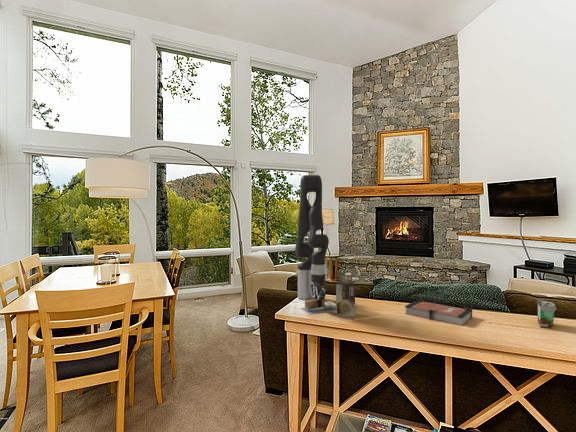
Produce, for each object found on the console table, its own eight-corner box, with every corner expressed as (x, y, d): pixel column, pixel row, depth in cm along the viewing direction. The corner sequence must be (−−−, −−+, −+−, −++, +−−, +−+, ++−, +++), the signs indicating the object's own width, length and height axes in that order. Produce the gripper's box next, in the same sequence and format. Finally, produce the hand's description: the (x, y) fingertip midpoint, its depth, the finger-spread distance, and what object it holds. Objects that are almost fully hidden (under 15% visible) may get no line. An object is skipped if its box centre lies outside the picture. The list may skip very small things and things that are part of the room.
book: (404, 315, 166) (404, 305, 165) (418, 308, 178) (418, 298, 178) (461, 327, 148) (461, 316, 148) (472, 318, 161) (472, 308, 161)
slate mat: (300, 309, 174) (300, 308, 174) (330, 305, 181) (330, 304, 181) (310, 315, 163) (310, 314, 163) (341, 311, 170) (341, 310, 170)
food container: (558, 331, 142) (558, 307, 142) (540, 328, 145) (540, 305, 145) (554, 323, 152) (554, 301, 152) (537, 320, 155) (537, 299, 155)
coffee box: (354, 313, 167) (354, 281, 167) (355, 317, 160) (355, 284, 160) (335, 313, 168) (335, 281, 168) (336, 316, 161) (336, 283, 161)
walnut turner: (309, 310, 166) (309, 302, 166) (303, 307, 173) (303, 299, 173) (336, 306, 172) (336, 298, 172) (330, 302, 179) (329, 295, 179)
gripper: (305, 270, 177) (305, 303, 177) (318, 275, 164) (318, 310, 164) (318, 270, 180) (318, 301, 180) (331, 274, 167) (331, 308, 167)
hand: (318, 305), depth 172 cm, fingers closed on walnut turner, 3 cm apart
